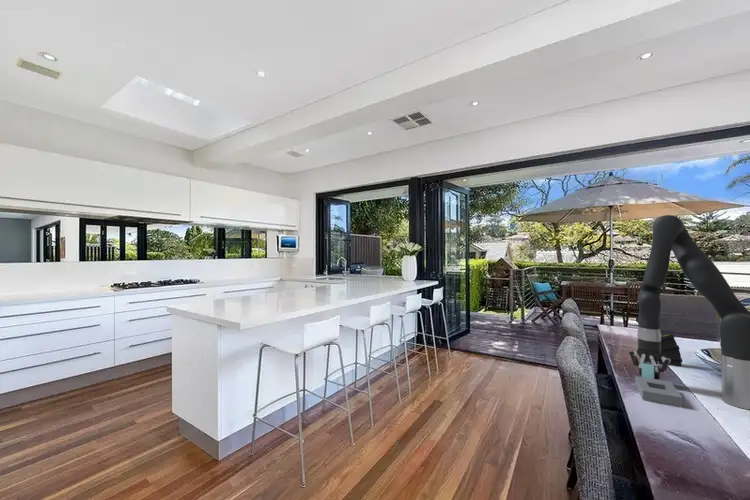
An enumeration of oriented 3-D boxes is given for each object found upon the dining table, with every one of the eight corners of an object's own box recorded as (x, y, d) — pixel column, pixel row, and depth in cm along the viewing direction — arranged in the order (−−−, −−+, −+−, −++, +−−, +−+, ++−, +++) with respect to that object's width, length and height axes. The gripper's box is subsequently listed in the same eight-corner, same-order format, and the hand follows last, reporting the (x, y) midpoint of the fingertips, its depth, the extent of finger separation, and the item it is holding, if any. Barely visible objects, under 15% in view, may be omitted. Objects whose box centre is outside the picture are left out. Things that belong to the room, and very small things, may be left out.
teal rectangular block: (657, 383, 134) (657, 364, 134) (653, 385, 131) (653, 366, 131) (645, 379, 137) (645, 361, 137) (641, 381, 135) (641, 363, 135)
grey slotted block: (635, 384, 132) (635, 376, 132) (670, 390, 127) (670, 381, 127) (642, 399, 119) (642, 390, 119) (682, 407, 113) (682, 397, 113)
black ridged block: (691, 365, 149) (672, 334, 153) (657, 371, 156) (640, 341, 160) (690, 363, 152) (671, 332, 156) (657, 369, 159) (640, 340, 163)
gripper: (674, 340, 130) (674, 382, 130) (632, 333, 142) (632, 371, 142) (668, 343, 126) (668, 386, 126) (625, 335, 138) (625, 374, 138)
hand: (649, 378), depth 134 cm, fingers closed on teal rectangular block, 4 cm apart
